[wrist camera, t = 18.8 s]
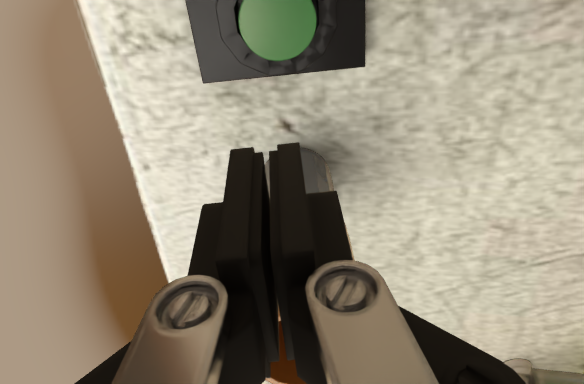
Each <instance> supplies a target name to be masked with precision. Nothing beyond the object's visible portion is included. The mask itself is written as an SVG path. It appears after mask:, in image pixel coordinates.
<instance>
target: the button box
mask: <svg viewBox="0 0 584 384" xmlns="http://www.w3.org/2000/svg"><path fill="white" fill-rule="evenodd" d="M185 1H186V5H187V10H188V15H189V20H190V24H191V29H192V34H193V39H194V43H195V48H196V53H197V57H198V62H199V67H200V72H201V76H202V81H203V83H212V82H222V81H231V80H241V79H251V78H260V77H270V76H280V75H290V74H299V73H309V72H319V71H328V70H338V69H348V68H357V67H365V0H312V2H313V5H314V7H315V11H316V18H317V23H316V30H315V34H314V36H313V39H312V41H311V42H310V44H309V45H308V47H307V48H306V49H305V50H304V51H303V52H302V53H300V54H299V55H297V56H296V57H294V58H292V59H289V60H284V61H271V60H267V59H264V58H262V57H260V56H258V55H257V54H255V53H254V52H253V51H252V50H250V48H249V47H248V46H247V45H246V43H245V42H244V40H243V38H242V36H241V33H240V29H239V23H238V16H239V10H240V6H241V3H242V0H185Z"/></svg>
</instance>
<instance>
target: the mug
mask: <svg viewBox="0 0 584 384" xmlns="http://www.w3.org/2000/svg"><path fill="white" fill-rule="evenodd" d="M300 152H301V159H302V167H303V174H304V182H305V189H306V194H308V193H317V192H327V191H334V187H333V183H332V178H331V173H330V171H329V167H328V165H327V163H326V162H325V160H324V159H323V158H322V157H321V156H320V155H319V154H317V153H316V152H314V151H312V150H309V149H306V148H300ZM265 171H266V177H267V184H268V191H269V198H270V179H269V160H268V161H267V162H266V164H265Z"/></svg>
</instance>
